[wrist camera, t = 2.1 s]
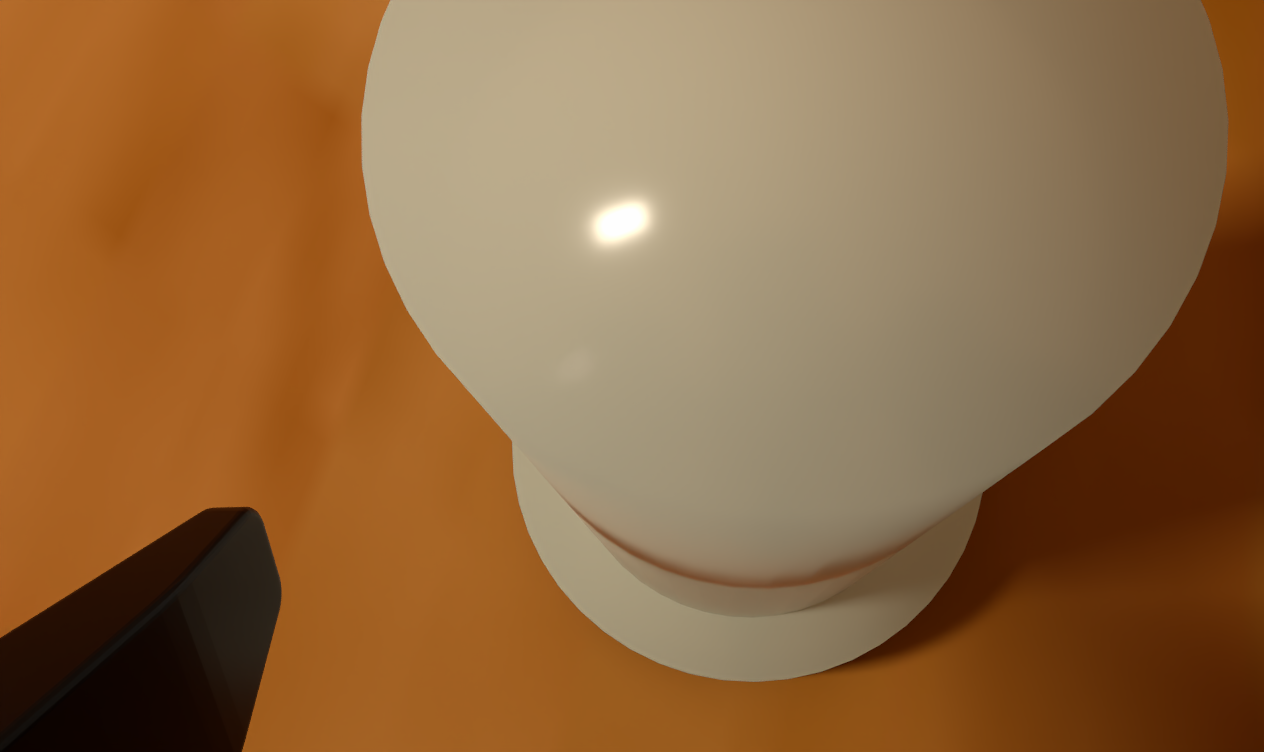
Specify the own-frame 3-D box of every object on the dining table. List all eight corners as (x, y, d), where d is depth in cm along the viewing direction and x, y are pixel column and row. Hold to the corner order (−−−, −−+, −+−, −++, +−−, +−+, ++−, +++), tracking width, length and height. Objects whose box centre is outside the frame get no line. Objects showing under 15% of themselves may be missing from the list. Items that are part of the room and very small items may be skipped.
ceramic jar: (989, 677, 18) (1522, 675, 6) (524, 684, 19) (169, 697, 7) (943, 243, 20) (1268, -391, 8) (529, 262, 21) (271, -306, 9)
